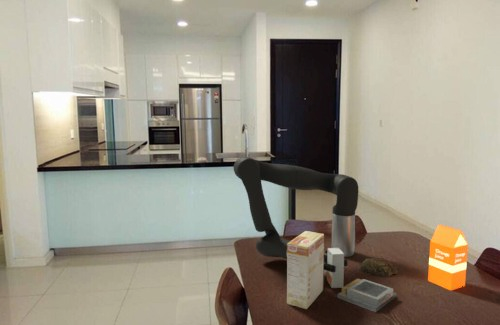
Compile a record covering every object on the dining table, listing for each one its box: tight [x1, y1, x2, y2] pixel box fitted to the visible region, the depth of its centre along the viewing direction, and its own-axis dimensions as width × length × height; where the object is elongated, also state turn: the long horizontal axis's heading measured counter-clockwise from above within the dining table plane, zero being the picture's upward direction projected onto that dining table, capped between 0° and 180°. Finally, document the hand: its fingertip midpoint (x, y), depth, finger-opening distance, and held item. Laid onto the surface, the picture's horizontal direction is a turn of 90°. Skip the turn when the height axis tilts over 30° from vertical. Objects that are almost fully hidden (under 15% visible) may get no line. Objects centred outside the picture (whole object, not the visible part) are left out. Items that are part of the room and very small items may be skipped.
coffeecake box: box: [286, 230, 325, 310], centre depth 121 cm, size 15×7×20 cm, turn 150°
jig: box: [337, 277, 397, 313], centre depth 121 cm, size 14×13×3 cm
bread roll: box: [359, 257, 398, 278], centre depth 143 cm, size 13×12×5 cm
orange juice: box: [427, 224, 469, 291], centre depth 131 cm, size 8×9×20 cm
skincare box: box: [326, 247, 345, 289], centre depth 130 cm, size 6×4×12 cm
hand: (341, 266), depth 129 cm, fingers closed on skincare box, 7 cm apart
